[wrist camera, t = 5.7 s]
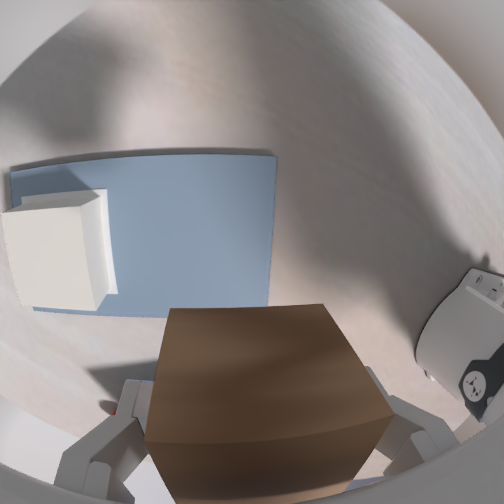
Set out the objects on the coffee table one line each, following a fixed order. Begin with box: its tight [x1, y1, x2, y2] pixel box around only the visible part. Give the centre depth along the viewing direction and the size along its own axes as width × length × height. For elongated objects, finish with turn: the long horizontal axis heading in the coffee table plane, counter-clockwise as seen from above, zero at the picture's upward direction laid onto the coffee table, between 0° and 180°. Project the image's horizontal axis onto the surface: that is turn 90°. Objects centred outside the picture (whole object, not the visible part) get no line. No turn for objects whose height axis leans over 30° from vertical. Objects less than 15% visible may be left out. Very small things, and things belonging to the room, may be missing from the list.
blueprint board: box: [10, 154, 277, 318], centre depth 22 cm, size 24×14×1 cm, turn 88°
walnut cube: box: [144, 304, 395, 504], centre depth 8 cm, size 5×5×5 cm
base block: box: [1, 197, 111, 311], centre depth 19 cm, size 8×8×4 cm
